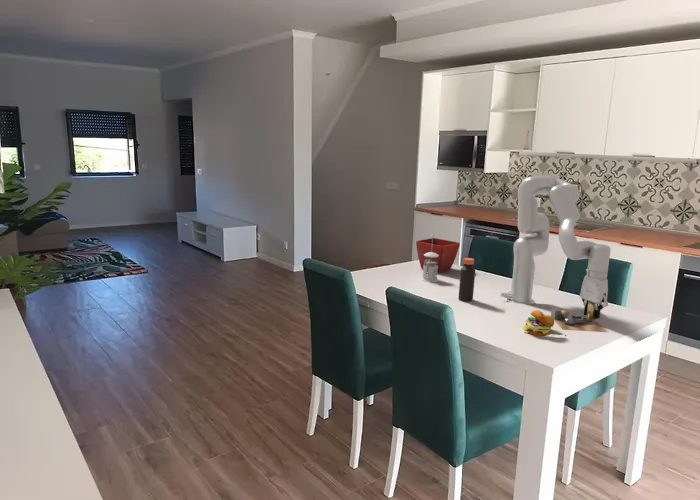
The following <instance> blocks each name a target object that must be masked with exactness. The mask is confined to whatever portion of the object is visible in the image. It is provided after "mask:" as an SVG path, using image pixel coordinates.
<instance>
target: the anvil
mask: <svg viewBox="0 0 700 500" xmlns="http://www.w3.org/2000/svg"><path fill="white" fill-rule="evenodd" d="M550 311H551V313H550V316H551V317H553V319H554V320H560V318H561V311H562V310H561V309H560V308H559V307H558V306H551V310H550Z"/></svg>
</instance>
